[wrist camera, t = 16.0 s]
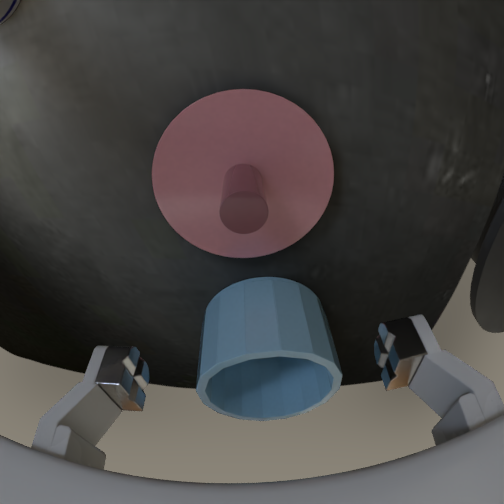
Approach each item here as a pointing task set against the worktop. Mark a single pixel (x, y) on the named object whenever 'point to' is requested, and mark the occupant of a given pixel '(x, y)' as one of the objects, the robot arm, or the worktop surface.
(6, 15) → the energy drink
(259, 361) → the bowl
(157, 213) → the worktop surface
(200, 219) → the cover plate
